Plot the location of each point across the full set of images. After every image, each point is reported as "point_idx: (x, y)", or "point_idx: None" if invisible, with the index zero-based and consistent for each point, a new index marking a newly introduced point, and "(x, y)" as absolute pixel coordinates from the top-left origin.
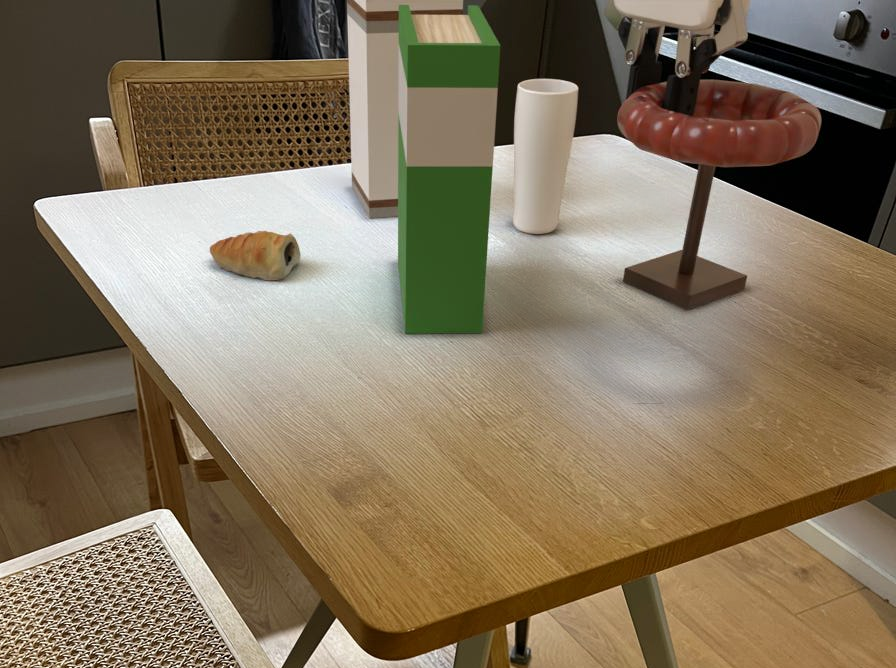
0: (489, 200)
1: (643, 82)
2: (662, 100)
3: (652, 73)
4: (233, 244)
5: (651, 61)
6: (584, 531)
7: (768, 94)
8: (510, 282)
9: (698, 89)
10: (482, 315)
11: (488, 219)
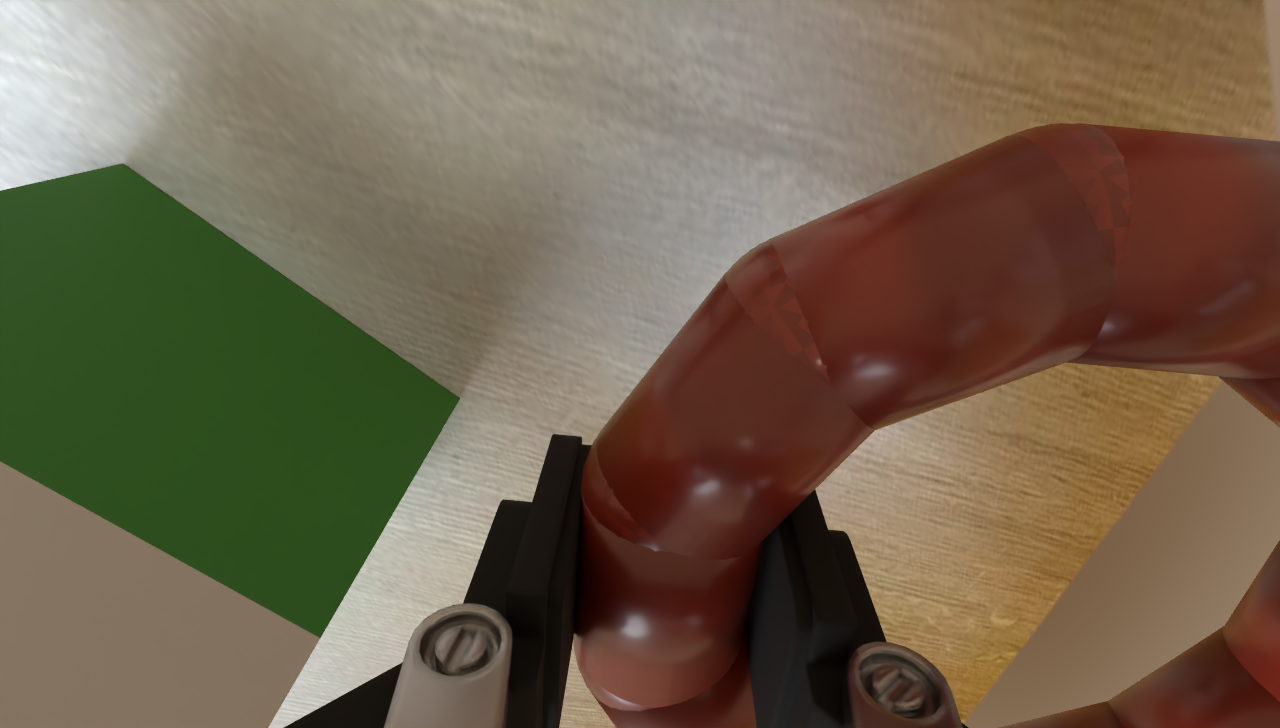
0: (357, 573)
1: (567, 646)
2: (736, 660)
3: (564, 629)
4: None
5: (540, 684)
6: (944, 668)
7: (1250, 356)
8: (276, 165)
9: (807, 492)
10: (448, 417)
11: (376, 540)
